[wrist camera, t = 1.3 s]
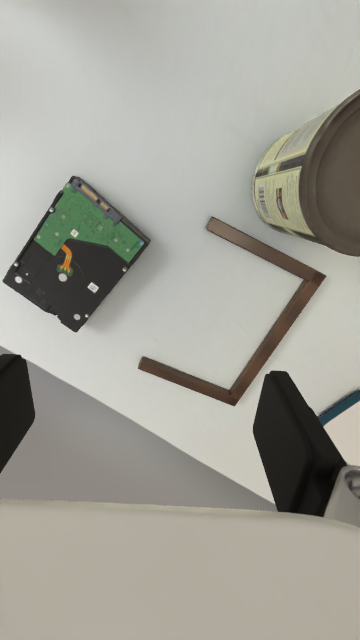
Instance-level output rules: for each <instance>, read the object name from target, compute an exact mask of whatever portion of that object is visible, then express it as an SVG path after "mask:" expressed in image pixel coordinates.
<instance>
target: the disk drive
mask: <svg viewBox="0 0 360 640" xmlns="http://www.w3.org/2000/svg"><path fill="white" fill-rule="evenodd" d="M150 241H151V240H150V239H149V238H148V237H147V236H146V235H144V234H143V233H142V232H141V231H140V230H139V229H138V228H137V227H135V226H134V225H133V224H132V223H131V222H130V221H129V220H128V219H126V218H125V217H124V216H123V215H122V214H121V213H120V212H118V211H117V210H116V209H115V208H114V207H113V206H112V205H110V204H109V203H108V202H107V201H106V200H105V199H104V198H102V197H101V196H100V195H99V194H98V193H97V192H96V191H95V190H93V189H92V188H91V187H90V186H89V185H87V183H85V182H84V181H83V180H82V179H81V178H80V177H76V176H72V177H71V179H70V180H69V182H68V183H66V185H65V187H64V188H63V190H61V191H59V193H58V194H57V196H56V198H55V199H54V201H53V203H52V205H51V206H50V208H49V209H48V211H47V212H46V214H45V215H44V217H43V218H42V220H41V221H40V223H39V224H38V226H37V228H36V229H35V231H34V232H33V234H32V235H31V237H30V239H29V240H28V242H27V243H26V245H25V246H24V248H23V249H22V251H21V253H20V254H19V255H18V257H17V259H16V260H15V262H14V263H13V264H12V266H11V267H10V269H9V270H8V272H7V274H6V276H5V278H4V279H3V282H4V283H5V284H6V285H8V286H9V287H11V288H12V289H14V290H15V291H16V292H18V293H20V294H21V295H23V296H24V297H25V298H27V299H28V300H29V301H31V302H32V303H34V304H35V305H36V306H38V307H39V308H41V309H42V310H43V311H45V312H48V313H51V314H53V315H58V316H57V317H58V318H59V320H61V323H62V324H64V325H65V326H67V327H68V328H69V329H71V330H72V331H74V332H77V331H78V330H79V329H80V328H81V326H83V325H84V323H85V322H86V321H87V320H88V318H89V317H90V316H91V314H92V313H93V312H94V311H95V309H96V308H97V307H98V306H99V305H100V303H101V302H102V301H103V300H104V298H105V297H106V296H107V295H108V294H109V292H110V291H111V290H112V289H113V287H114V286H115V285H116V284H117V282H118V281H119V280H120V279H121V278H122V276H123V275H124V274H125V273H126V272H127V270H128V269H129V268H130V267H131V266H132V265H133V264H134V262H135V261H136V260H137V259H138V258H139V256H140V254H141V253H142V252H143V251H144V249H145V248H146V247H147V246H148V245H149V243H150Z"/></svg>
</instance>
